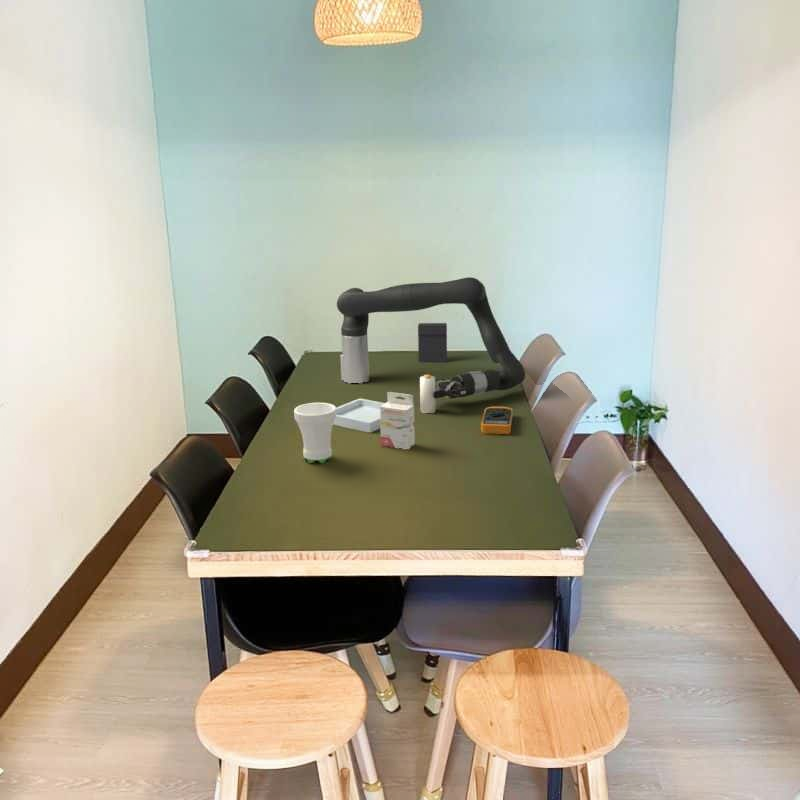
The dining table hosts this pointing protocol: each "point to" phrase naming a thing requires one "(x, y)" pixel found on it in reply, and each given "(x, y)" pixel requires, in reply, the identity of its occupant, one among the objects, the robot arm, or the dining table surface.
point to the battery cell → (427, 394)
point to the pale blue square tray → (359, 415)
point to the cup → (316, 429)
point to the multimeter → (497, 420)
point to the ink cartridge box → (397, 421)
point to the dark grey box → (432, 342)
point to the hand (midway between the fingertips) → (426, 391)
